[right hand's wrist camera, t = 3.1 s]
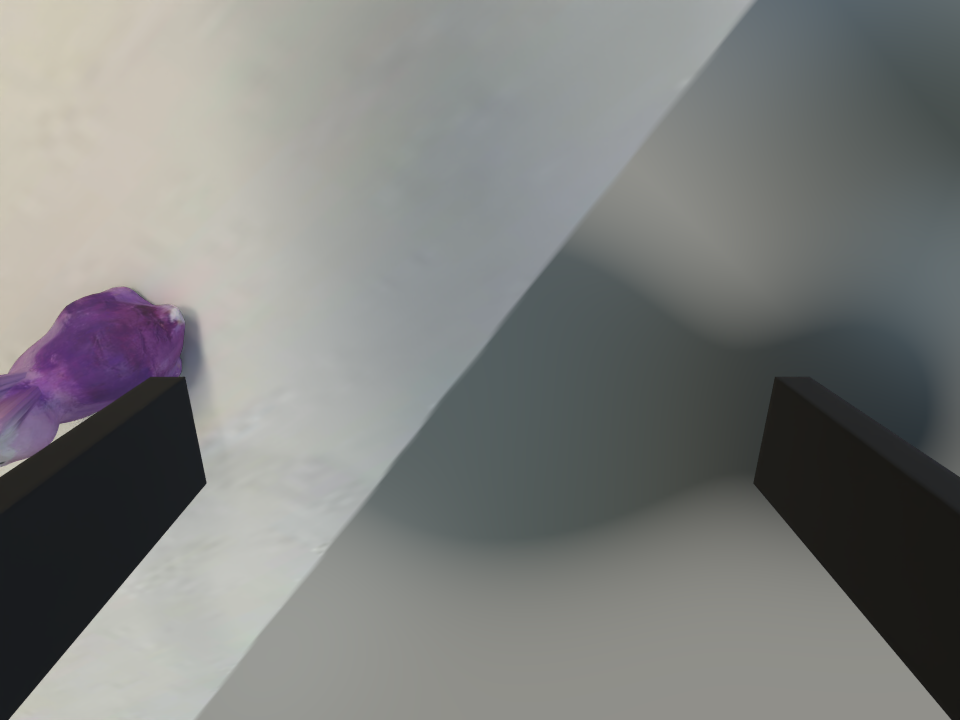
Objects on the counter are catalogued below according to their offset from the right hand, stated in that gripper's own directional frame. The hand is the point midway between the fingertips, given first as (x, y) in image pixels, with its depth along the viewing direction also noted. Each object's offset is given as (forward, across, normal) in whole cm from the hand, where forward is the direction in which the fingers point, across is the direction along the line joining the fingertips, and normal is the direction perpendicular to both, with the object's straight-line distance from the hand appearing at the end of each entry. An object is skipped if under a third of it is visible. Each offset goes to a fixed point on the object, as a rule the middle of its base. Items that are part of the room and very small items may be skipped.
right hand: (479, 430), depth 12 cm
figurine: (+28, -26, -8) cm, 39 cm away
